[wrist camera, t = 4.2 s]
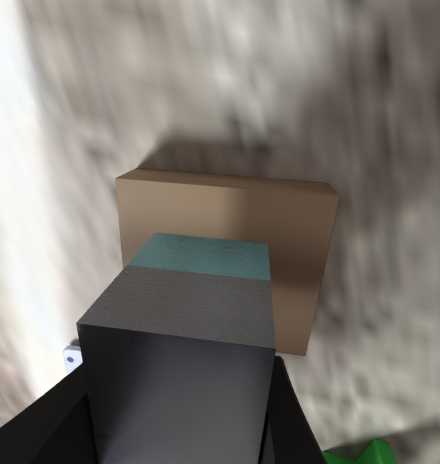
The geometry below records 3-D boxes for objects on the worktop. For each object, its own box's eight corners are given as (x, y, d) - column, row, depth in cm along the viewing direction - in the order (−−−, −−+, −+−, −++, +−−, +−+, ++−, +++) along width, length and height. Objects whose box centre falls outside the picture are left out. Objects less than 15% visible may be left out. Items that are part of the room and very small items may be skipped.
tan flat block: (299, 325, 18) (305, 356, 16) (144, 306, 19) (128, 332, 17) (327, 183, 15) (339, 196, 13) (136, 168, 16) (115, 178, 14)
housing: (251, 372, 12) (248, 524, 8) (159, 360, 13) (104, 498, 8) (267, 243, 10) (275, 348, 6) (155, 232, 11) (75, 323, 6)
